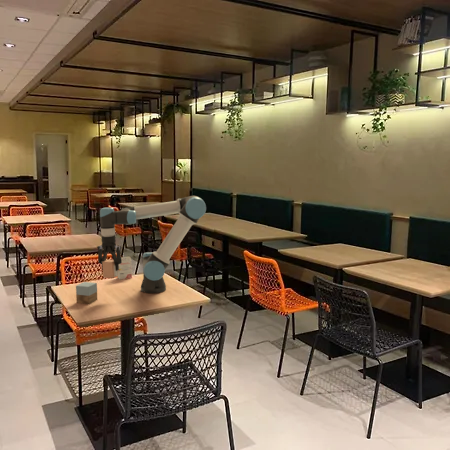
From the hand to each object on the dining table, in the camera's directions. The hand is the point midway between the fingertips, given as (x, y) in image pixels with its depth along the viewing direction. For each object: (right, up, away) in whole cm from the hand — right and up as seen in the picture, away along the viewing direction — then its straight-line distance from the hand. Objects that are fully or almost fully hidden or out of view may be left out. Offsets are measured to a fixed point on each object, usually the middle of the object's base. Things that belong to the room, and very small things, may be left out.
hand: (110, 275), depth 253 cm
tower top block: (-12, -9, -4) cm, 16 cm away
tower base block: (-12, -14, -3) cm, 19 cm away
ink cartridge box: (-3, -7, +47) cm, 47 cm away
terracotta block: (0, 0, 0) cm, 0 cm away
